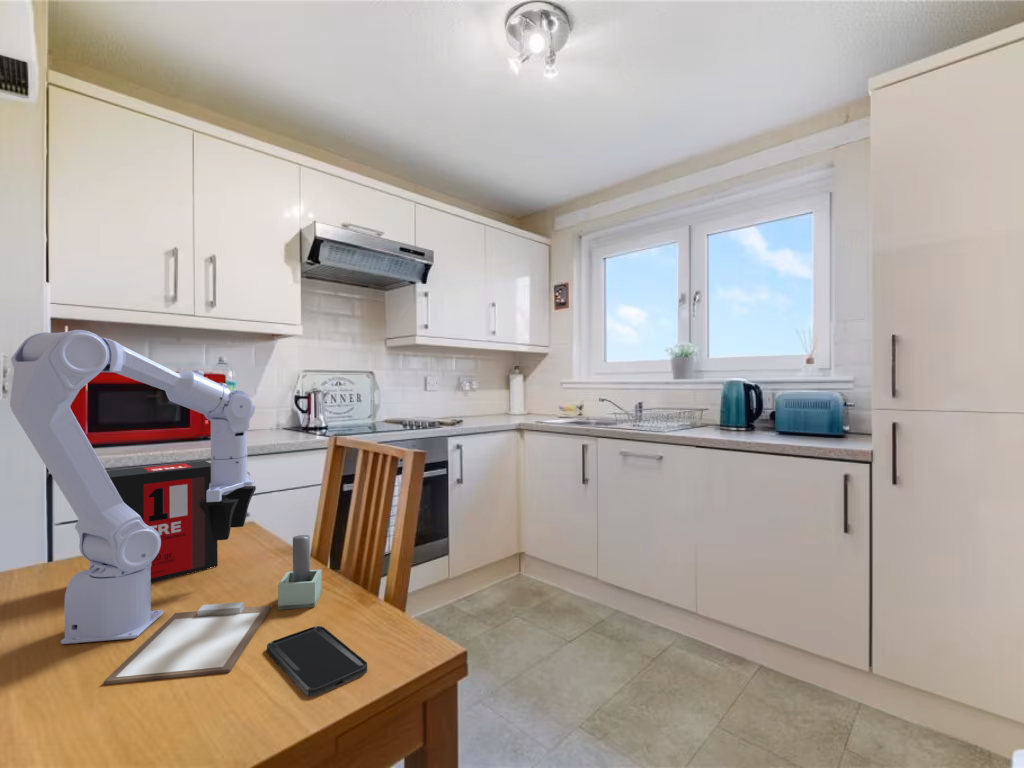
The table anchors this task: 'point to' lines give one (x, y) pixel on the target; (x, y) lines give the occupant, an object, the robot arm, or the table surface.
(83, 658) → the table surface
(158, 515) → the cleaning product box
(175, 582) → the table surface
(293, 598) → the box
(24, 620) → the table surface
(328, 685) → the phone
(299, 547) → the marker
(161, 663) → the clipboard
